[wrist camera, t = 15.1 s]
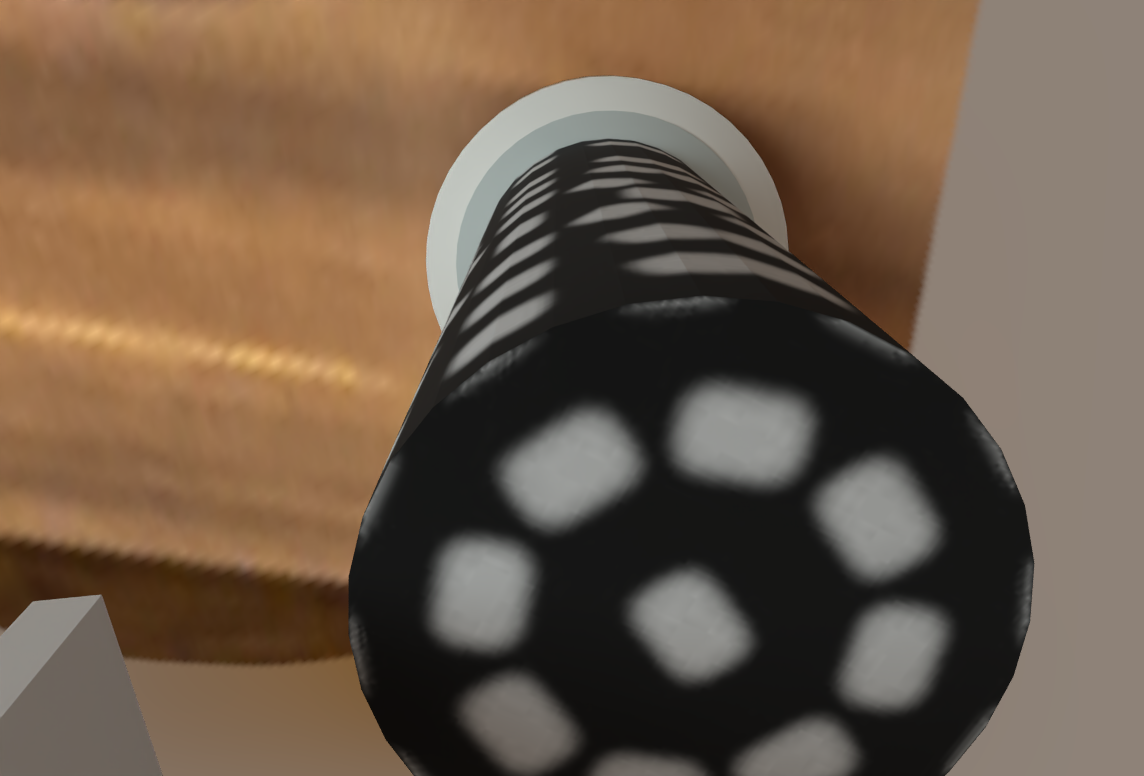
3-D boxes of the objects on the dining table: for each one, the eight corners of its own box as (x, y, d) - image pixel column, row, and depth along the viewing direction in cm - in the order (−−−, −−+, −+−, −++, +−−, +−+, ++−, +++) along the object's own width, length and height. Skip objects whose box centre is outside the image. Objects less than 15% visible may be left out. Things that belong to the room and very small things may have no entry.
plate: (462, 419, 35) (454, 452, 32) (412, 94, 31) (397, 98, 28) (772, 388, 35) (793, 418, 32) (763, 57, 31) (785, 56, 28)
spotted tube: (430, 236, 29) (201, 554, 11) (644, 83, 28) (822, 136, 9) (575, 430, 32) (598, 970, 13) (779, 299, 30) (1141, 695, 11)
